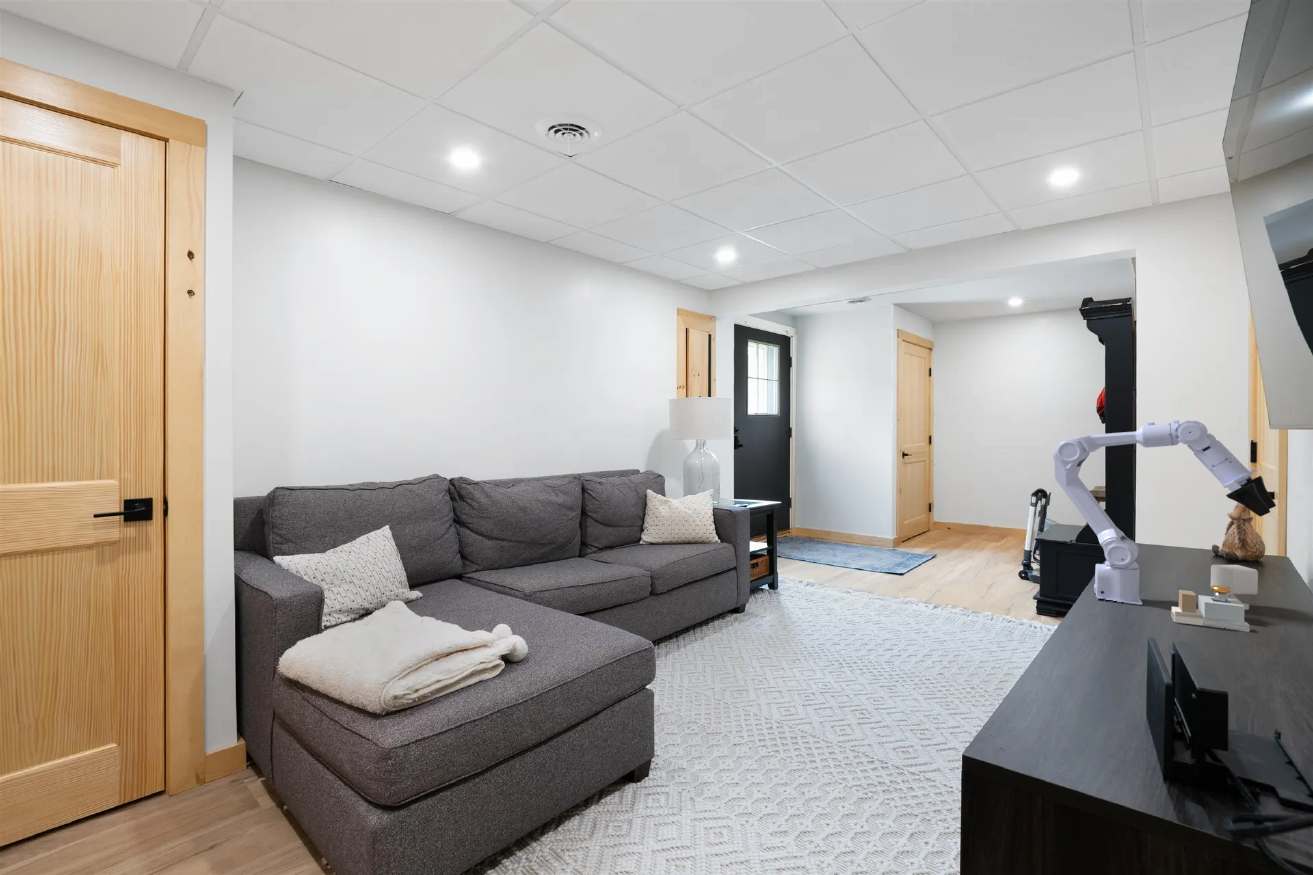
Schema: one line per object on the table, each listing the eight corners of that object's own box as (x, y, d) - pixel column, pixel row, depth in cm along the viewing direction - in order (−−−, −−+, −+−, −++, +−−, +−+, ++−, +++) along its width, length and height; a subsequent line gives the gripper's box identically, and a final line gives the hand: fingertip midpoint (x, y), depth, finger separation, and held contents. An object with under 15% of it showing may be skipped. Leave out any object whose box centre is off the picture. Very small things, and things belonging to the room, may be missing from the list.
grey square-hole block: (1204, 618, 148) (1204, 602, 147) (1198, 611, 153) (1198, 594, 153) (1244, 623, 144) (1244, 606, 144) (1236, 615, 150) (1236, 599, 150)
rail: (1174, 622, 145) (1174, 615, 145) (1172, 619, 147) (1172, 612, 147) (1249, 631, 138) (1249, 625, 138) (1246, 628, 140) (1246, 622, 140)
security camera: (1257, 610, 154) (1258, 570, 154) (1228, 610, 154) (1229, 570, 154) (1234, 602, 160) (1235, 564, 160) (1206, 602, 161) (1207, 564, 160)
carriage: (1174, 621, 144) (1175, 593, 144) (1171, 616, 148) (1172, 588, 148) (1203, 625, 142) (1203, 596, 142) (1199, 620, 146) (1199, 591, 145)
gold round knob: (1212, 606, 148) (1213, 587, 148) (1209, 602, 151) (1209, 584, 151) (1231, 608, 146) (1232, 589, 146) (1228, 604, 149) (1228, 586, 149)
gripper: (1232, 457, 142) (1282, 508, 137) (1245, 449, 151) (1292, 496, 146) (1200, 474, 147) (1247, 523, 141) (1214, 465, 156) (1259, 511, 150)
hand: (1268, 511), depth 144 cm, fingers open, 7 cm apart
